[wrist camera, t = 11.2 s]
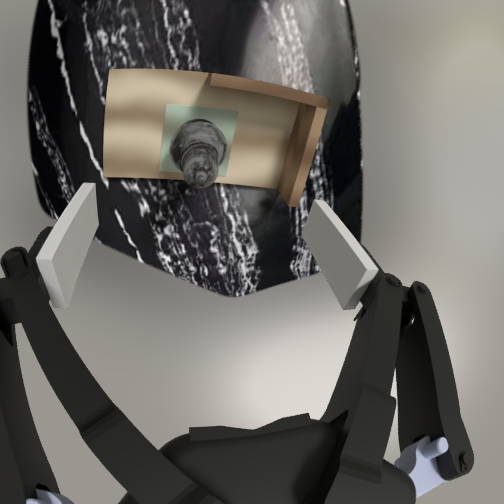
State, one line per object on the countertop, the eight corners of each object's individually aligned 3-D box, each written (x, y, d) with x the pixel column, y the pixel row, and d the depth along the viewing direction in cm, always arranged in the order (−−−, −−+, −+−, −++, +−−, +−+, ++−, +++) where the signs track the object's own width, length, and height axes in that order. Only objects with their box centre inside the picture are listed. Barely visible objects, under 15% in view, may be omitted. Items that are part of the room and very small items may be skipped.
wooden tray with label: (111, 69, 22) (96, 69, 18) (309, 93, 28) (329, 99, 24) (105, 174, 29) (92, 193, 25) (283, 187, 36) (297, 207, 32)
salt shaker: (233, 142, 30) (256, 182, 20) (195, 174, 31) (199, 228, 22) (200, 105, 26) (206, 125, 17) (160, 140, 28) (145, 181, 18)
